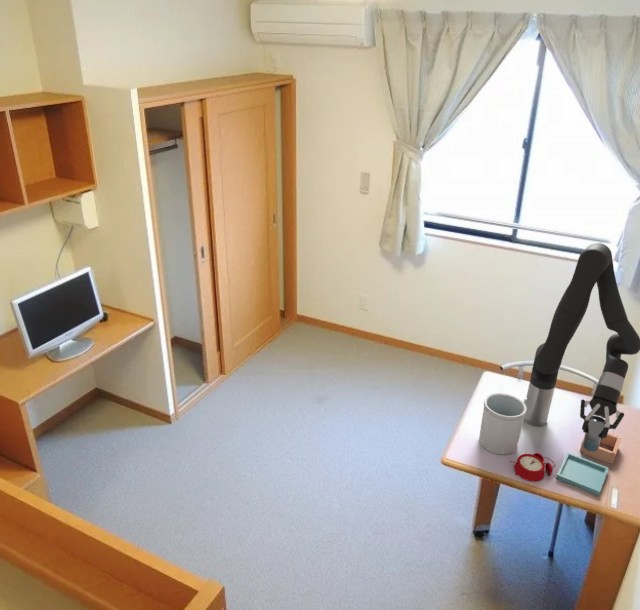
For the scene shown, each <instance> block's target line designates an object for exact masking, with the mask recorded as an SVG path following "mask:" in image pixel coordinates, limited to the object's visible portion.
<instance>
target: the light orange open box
mask: <svg viewBox="0 0 640 610" xmlns="http://www.w3.org/2000/svg"><path fill="white" fill-rule="evenodd" d="M584 437H585V435H584V436H583V439H582V441H581V445H580V448H579V452H580V453H581V452H582V454H584V455H587V456H589V457H592V458H594V459H597V460H600V461H603V462H605V463H608V464H610V463H611V464H613V463H614V461H615V459H616V455H617V453H618V450H619V446H620V444H621V442H622V438H621V437H619V436H618V435H615V434H613V433H610V432H608V434H607V437H606V438H603V439H601V442H600V444H603V445H606V446H609V447H612V448H613V450H611V449H610V450H609V449H607V448H604V447H601V446H599V449H598V450H597V451H595V452H592V451H588V450H586V449H585V448H584V447H583V445H582V444H583V441H584Z"/></svg>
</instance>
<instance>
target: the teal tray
mask: <svg viewBox="0 0 640 610" xmlns="http://www.w3.org/2000/svg"><path fill="white" fill-rule="evenodd" d="M609 469H610V468H609V467H607V466H605V465H603V464H599V463H597V462H594V461H592V460H589V459H587V458H584V457H581V456H580V455H576V454H574V453H570V452H566V454H565V456H564V458H563V461H562V463H561V466H559V469H558V471H557V474H556V477H555V480H558V481H559V482H562V483H565V484H567V485H569V486H572V487H575V488H577V489H580V490H582V491H585V492H587V493H589V494H592V495H594V496H597V497H599V496H600V494H601V491H602V489H603V485H604V482H605V480H606V477H607V474H608V471H609Z"/></svg>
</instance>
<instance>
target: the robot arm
mask: <svg viewBox="0 0 640 610" xmlns="http://www.w3.org/2000/svg"><path fill="white" fill-rule="evenodd" d="M614 268H615V267H614V260H613V253H612V251H611V249H610V247H608V246H607V245H606V244H604V243H601V242H594V243H592V244H590V245H588V246H587V247H586V248H585V249H584V250H582V252H580V255H579V256H578V259H577V262H576V265H575V269H574V271H573V275H572V278H571V281H570V282H569V284H568V286H567V288H566V289H565V291H564V293H563V295H562V297H560V300H559V302H558V304H557V306H556V309H555V311H554V314H553V317H552V320H551V323H550V327H549V331H548V335H547V338H546V340H545V342H544V343H541V344H540V345H539V346H538V347H537V349H536V351H535V355H534V358H533V359H534V360H533V364H532V369H531V373H530V379H529V384H528V388H527V393H526V396H525V398H524V400H523V402H524V403H525V405H526V407H527V411H526V414H525V416H524V421H523V422H526V423H527V424H528V425H531V426H533V427H542V426H545V425H546V424H547V422H548V418H549V414H550V408H551V405H552V400H553V397H554V394H555V392H554V391H555V389H556V384H557V379H558V375H559V371H560V368H561V365H562V361H563V359H564V358H563V357H564V355H565V353H566V350H567V348H568V346H569V344H570V342H571V340H572V339H573V337H574V335H575V333H576V332H577V330H578V328H579V326H580V324H581V323H582V321H583V319H584V317H585V314H586V312H587V309H588V306H589V304H590V299H591V295H592V292H593V289H594V287H595V285H596V287H597V290H598V301H599V306H600V311H601V314H602V317H603V320H604V321H603V322H604V323H605V325H606V328H607V330H610V331H613V332H615V333H614V334H612V335H610V336H609V338H608V340H607V341H606V347H605V348H606V350H605V351H606V352H605V353H606V354H605V363H604V367H603V369H602V372H601V374H600V376H599V379H598V382H597V385H596V387H595V390H594V393H593V396H592V398H591V399H590V400H585V399H581V400H580V411H579V416H580V419H582V420H583V424H582V426H581V430H582V432H583V433H586V430H587V426H588V422H589V418H590V417H591V416H598V417H601V418H603V419H604V420H605V421H606V424H605V427H604V430H603V433H602V436H601V439H603V438H606V437H607V434H608V433H609V430H616V429H617V428H618V426H619V425H620V423H621V422H622V420H623V419H624V417H625V413H624V412H621V411H619V410H617V409H618V408H617V405H618V402H619V400H620V397H621V393H622V391H623V388H624V383H625V379H626V376H627V373H628V369H629V364H628V362H627V361H625V360H624V359H622V355H627V356H628V355H629V356H632V355H636V354H638V353H639V352H640V336H639V333H637V331H636V330H635V328H634V326H633V325H632V323H631V322H630V321H629V319H628V316H627V313H626V309H625V307H624V304H623V301H622V297H621V295H620V291H619V288H618V283H617V279H616V275H615V269H614ZM588 405H589V407H590V409H591V411H590V412H589V413H588V414H587V415H585V412H586V411H585V410H586V409H585V408H588ZM614 414H616V415H615V417H616V419H615V421H614V422H613V423H611V424H610V417H611V416H613V415H614Z"/></svg>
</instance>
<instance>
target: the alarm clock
mask: <svg viewBox="0 0 640 610" xmlns="http://www.w3.org/2000/svg"><path fill="white" fill-rule="evenodd" d="M545 459H548V460H549V461H551V462H552V463H553V466H552V464H551V463H550V462H546V463H545ZM509 463H514V464H513V471H514V474H515V476H519V477H520V478H521V479H523V480H525V481H528V482H541V481H542V480H543V479H544V478H545V476H546V472H547V473H548V474H547V476H548V477H549V476H552V473H553V470H554V467H556V464H555V462H554V461H553V460H552V459H551V458H549V457H544V456H543V455H542V454H541V453H539V452H535V453H533V454H531V453H523V454H520V455H518V458H517V459H516V461H512V460H510V461H509Z"/></svg>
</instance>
